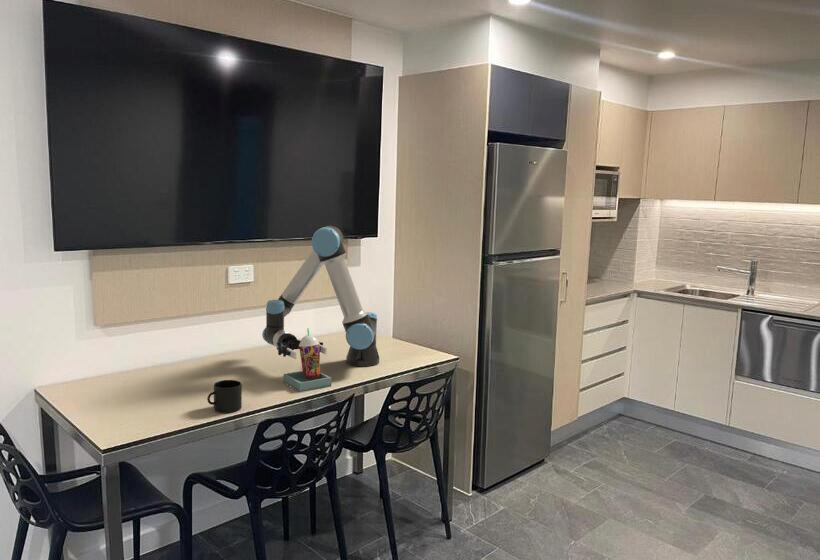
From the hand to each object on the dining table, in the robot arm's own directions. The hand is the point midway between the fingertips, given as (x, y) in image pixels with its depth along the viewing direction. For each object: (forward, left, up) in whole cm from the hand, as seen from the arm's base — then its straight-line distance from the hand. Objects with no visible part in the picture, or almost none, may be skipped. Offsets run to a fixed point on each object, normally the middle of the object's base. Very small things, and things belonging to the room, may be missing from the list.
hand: (310, 353), depth 246 cm
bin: (0, -3, -13) cm, 14 cm away
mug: (+38, +6, -14) cm, 41 cm away
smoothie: (-3, -3, -11) cm, 12 cm away
